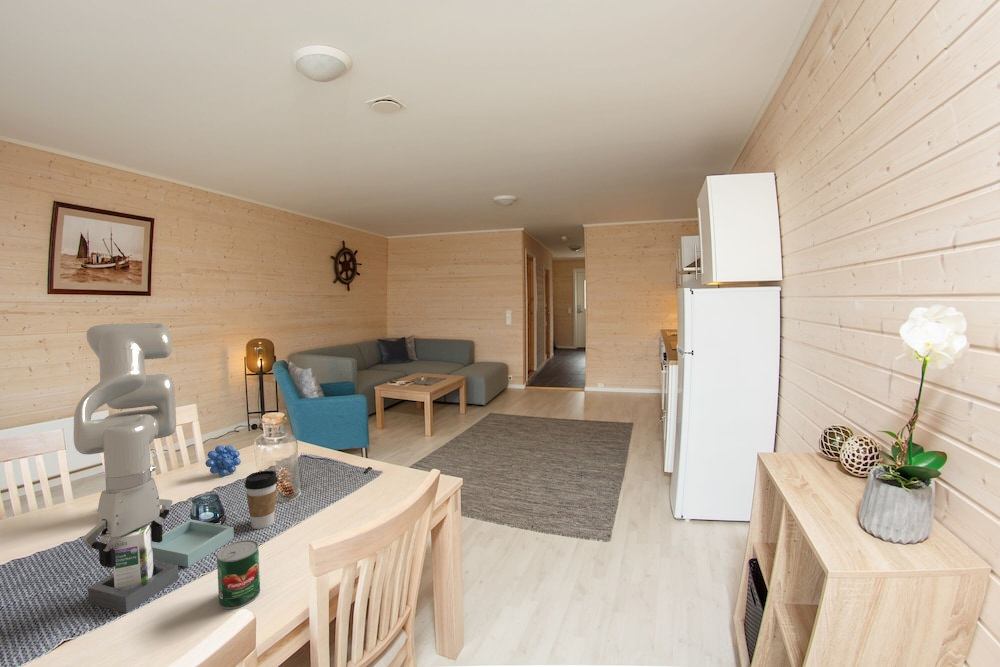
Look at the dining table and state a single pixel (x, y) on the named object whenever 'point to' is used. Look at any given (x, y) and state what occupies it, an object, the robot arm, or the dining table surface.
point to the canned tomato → (238, 574)
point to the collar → (128, 600)
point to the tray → (191, 542)
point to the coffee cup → (261, 498)
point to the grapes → (223, 460)
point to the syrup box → (133, 558)
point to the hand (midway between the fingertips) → (133, 553)
